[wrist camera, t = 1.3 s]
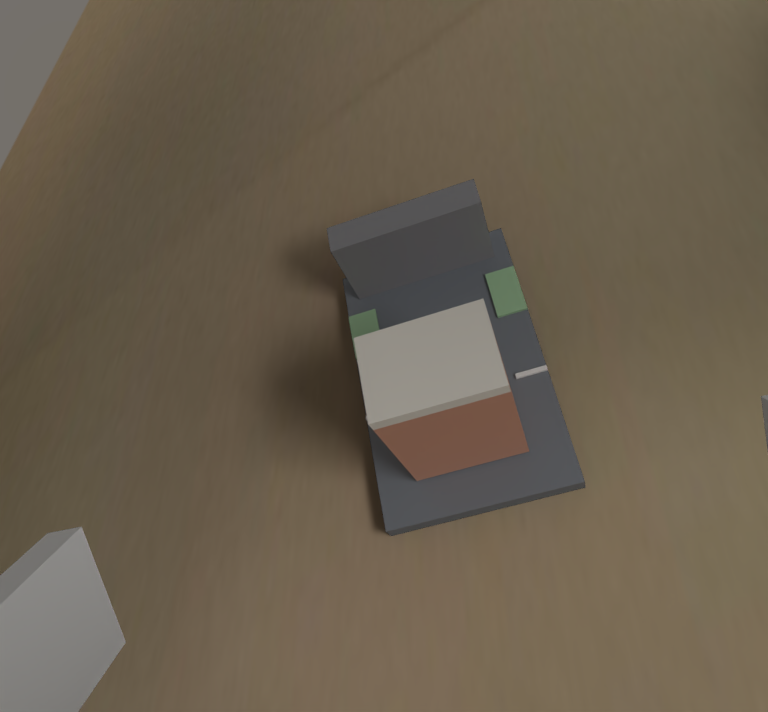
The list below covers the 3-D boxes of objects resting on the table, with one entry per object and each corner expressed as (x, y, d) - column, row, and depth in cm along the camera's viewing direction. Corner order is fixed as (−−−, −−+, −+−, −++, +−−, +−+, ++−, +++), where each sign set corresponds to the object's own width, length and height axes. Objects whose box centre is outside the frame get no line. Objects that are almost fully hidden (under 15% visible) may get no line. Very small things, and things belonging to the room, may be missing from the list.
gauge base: (503, 238, 49) (488, 171, 43) (585, 487, 40) (581, 447, 33) (347, 287, 51) (312, 230, 45) (391, 535, 42) (353, 507, 35)
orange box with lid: (507, 377, 43) (483, 298, 34) (529, 451, 40) (509, 385, 32) (402, 408, 44) (353, 338, 35) (416, 481, 41) (368, 424, 33)
